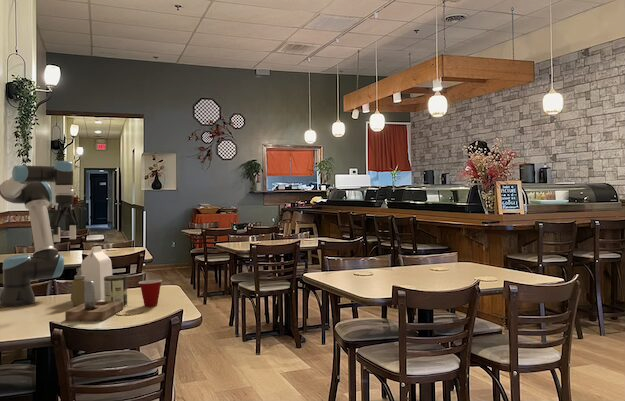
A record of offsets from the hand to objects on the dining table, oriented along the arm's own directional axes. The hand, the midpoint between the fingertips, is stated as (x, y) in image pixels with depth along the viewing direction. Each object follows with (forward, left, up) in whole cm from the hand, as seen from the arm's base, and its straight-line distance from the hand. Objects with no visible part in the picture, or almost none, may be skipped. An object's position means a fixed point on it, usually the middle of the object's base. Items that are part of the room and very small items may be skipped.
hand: (65, 240), depth 236 cm
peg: (+20, -17, -31) cm, 41 cm away
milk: (+2, +26, -32) cm, 41 cm away
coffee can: (+21, +6, -32) cm, 39 cm away
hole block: (+20, -12, -32) cm, 39 cm away
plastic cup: (+37, +8, -32) cm, 50 cm away
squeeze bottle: (+3, +7, -32) cm, 33 cm away
